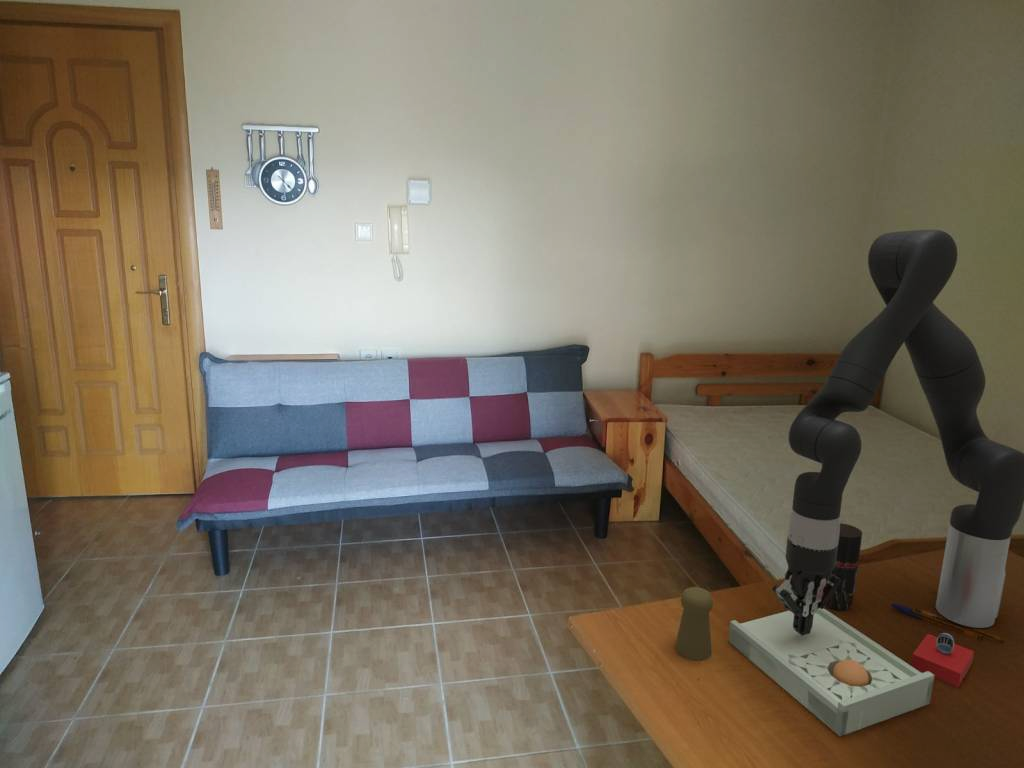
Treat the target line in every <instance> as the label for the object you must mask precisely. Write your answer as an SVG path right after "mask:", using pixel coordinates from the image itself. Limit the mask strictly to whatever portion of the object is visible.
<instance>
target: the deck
mask: <svg viewBox="0 0 1024 768" xmlns="http://www.w3.org/2000/svg"><path fill="white" fill-rule="evenodd" d="M793 621H794V614H793V613H792V612H791V611H789V610H786V611H783V612H779V613H774V614H772V615H771V614H770V615H767V616H764V617H761V618H757V619H752V620H749V621H748V620H747V621H745V622H742V623H740V622H738V621H737V620H735V619H734V620H731V621H730V623H729V633H728V643H729V642H730V643H729V644H730V645H732V646H733V647H734V646H735V647H734V648H735V649H737V650H738V651H739V652H740V653H741V654H742V653H743V654H742V655H743V656H745V657H746V658H747V659H748V660H749V661H750V662H752V664H754V665H755V666H756V667H757V668H759V669H760V670H761V671H762V672H763V673H765V674H766V676H768V677H769V678H770V679H772V680H773V681H774V682H775V683H776V684H777V685H779V686H780V687H781V688H782V690H785V691H786V693H788V694H789V695H790V696H791V697H792V698H794V699H795V700H797V702H799V704H801V705H802V706H804V707H805V708H806V710H808V711H809V712H811V713H812V714H813V715H814V716H815V717H816V718H818V719H819V720H820V721H821V722H822V723H823V724H824V725H826V726H827V727H828V728H829V729H831V730H832V731H833V732H834V733H835V734H836V735H837V736H838V737H842V736H846V735H849V734H851V733H854V732H856V731H861V730H862V729H865V728H868V727H871V726H873V725H875V724H879V723H881V722H883V721H887V720H889V719H891V718H894V717H897V716H900V715H902V714H903V715H904V714H905V713H908V712H912V711H914V710H916V709H919V708H922V707H925V706H927V705H930V703H931V699H932V691H933V686H934V685H933V684H934V682H935V681H934V679H935V678H934V674H932V673H931V672H929V671H927V672H924V673H922V672H919V671H918V670H916V669H915V668H913V667H912V666H911V664H909V663H907V662H905V661H904V660H903V659H901V658H900V657H898V656H896V655H895V654H893V653H892V652H891V651H889V650H887V649H886V648H884V647H883V646H881V645H880V644H879V643H877V642H875V641H874V640H873V639H872V638H869V637H868V636H866V635H865V634H863V632H860V631H859V630H858V629H856V628H854V627H853V626H851V625H850V624H848V623H846V622H845V621H843V619H841V618H840V617H837V616H836V615H835V614H833V613H831V611H829V610H827V608H826V609H825V607H824V608H823V609H820V608H818V609H817V612H816V613H815V614H814V616H813V623H812V628H811V632H810V634H806V635H803V636H802V635H800V634H799V633H798V632H796V631H795V629H794V628H793ZM846 659H849V660H854V661H856V662H858V663H860V664H861V665H862V666H863V667H864V668H865V670H866V672H867V674H868V678H869V682H868V685H867V686H864V687H858V686H850V685H847V684H844V683H842V682H839V681H838V680H836V679H835V678H834V677H833V669H834V667H835V665H836V664H837V663H838V662H840V661H842V660H846Z"/></svg>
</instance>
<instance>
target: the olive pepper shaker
mask: <svg viewBox="0 0 1024 768" xmlns="http://www.w3.org/2000/svg"><path fill="white" fill-rule="evenodd" d="M680 604H681V606H682V608H683V610H682V615H681V619H680V622H679V623H680V624H679V627H678V631H677V636H676V641H675V644H674V648H675V651H676V653H677V654H678V655H679V656H681V657H683V658H684V659H687V660H690V661H695V662H696V661H697V662H698V661H700V662H702V661H705V660H707V659H709V658H710V657H711V656H712V639H711V625H710V623H711V622H710V612H711V611H712V610H713V605H714V598H713V596H712V594H711V592H710V591H708V590H707V589H705V588H702V587H698V586H691V587H687V588H686V589H684V590H683V591H682V593H681V595H680Z"/></svg>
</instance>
